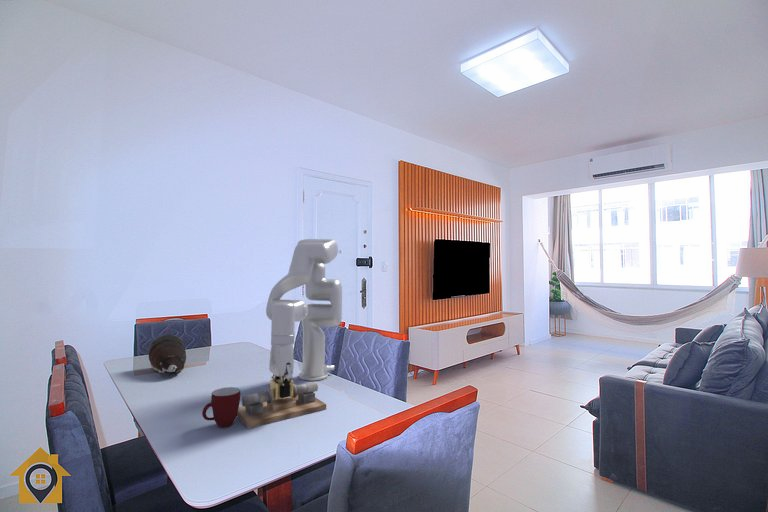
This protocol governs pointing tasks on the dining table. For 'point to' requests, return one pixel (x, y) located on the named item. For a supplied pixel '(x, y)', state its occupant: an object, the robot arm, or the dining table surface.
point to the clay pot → (167, 354)
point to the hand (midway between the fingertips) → (281, 394)
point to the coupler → (278, 388)
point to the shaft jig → (279, 405)
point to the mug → (224, 406)
